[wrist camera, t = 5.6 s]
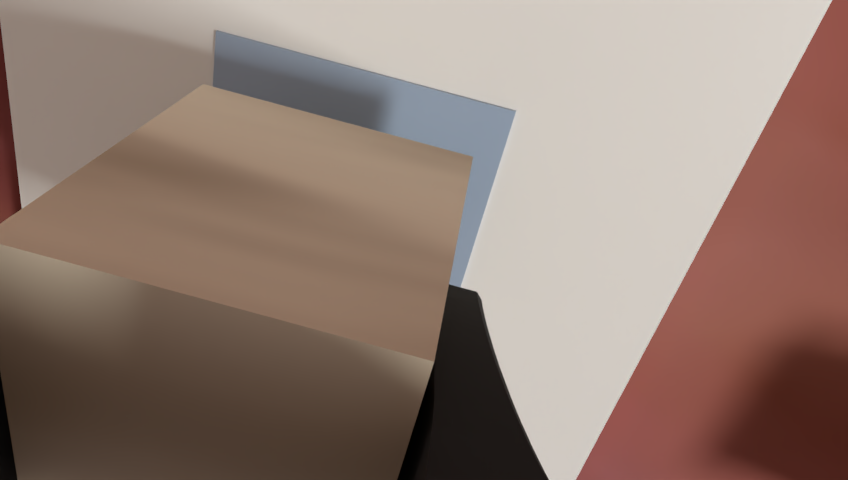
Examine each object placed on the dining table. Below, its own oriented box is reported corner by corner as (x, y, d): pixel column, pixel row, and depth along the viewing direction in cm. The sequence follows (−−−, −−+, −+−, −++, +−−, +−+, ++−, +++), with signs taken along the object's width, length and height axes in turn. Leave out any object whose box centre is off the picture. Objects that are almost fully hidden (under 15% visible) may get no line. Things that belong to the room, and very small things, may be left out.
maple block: (413, 361, 13) (355, 612, 9) (192, 301, 13) (24, 522, 9) (473, 157, 10) (434, 360, 6) (202, 84, 11) (-21, 238, 6)
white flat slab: (537, 525, 19) (537, 553, 18) (62, 396, 19) (43, 418, 18) (931, -238, 9) (966, -247, 9) (-18, -489, 9) (-65, -520, 9)
